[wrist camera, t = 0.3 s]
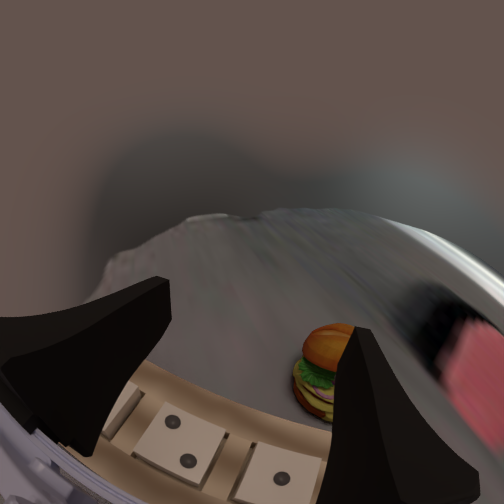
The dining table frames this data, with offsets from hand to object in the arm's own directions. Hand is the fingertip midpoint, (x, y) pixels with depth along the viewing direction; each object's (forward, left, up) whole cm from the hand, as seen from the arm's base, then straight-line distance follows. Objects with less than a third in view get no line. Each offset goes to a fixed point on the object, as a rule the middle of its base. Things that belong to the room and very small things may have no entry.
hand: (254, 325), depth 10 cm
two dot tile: (-1, +3, -19) cm, 19 cm away
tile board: (-1, +3, -21) cm, 21 cm away
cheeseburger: (+14, -9, -21) cm, 27 cm away
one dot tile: (-1, -6, -19) cm, 20 cm away
